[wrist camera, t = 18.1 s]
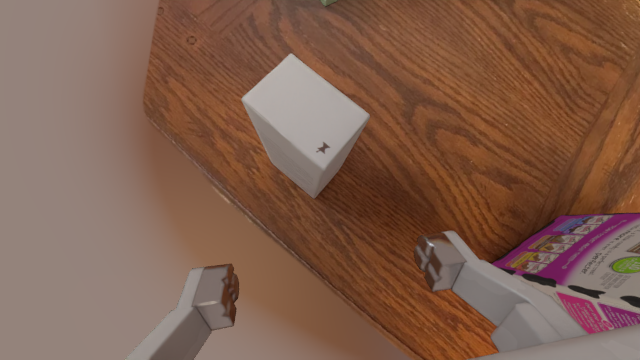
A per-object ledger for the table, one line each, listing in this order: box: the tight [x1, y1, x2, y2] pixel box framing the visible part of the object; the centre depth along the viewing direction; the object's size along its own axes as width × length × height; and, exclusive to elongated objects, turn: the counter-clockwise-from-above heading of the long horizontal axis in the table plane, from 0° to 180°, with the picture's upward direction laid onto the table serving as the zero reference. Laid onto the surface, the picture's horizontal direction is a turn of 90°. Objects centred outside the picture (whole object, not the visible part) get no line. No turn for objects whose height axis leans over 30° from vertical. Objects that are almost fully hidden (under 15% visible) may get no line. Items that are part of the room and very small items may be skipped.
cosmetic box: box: [242, 54, 370, 199], centre depth 18 cm, size 6×4×12 cm
